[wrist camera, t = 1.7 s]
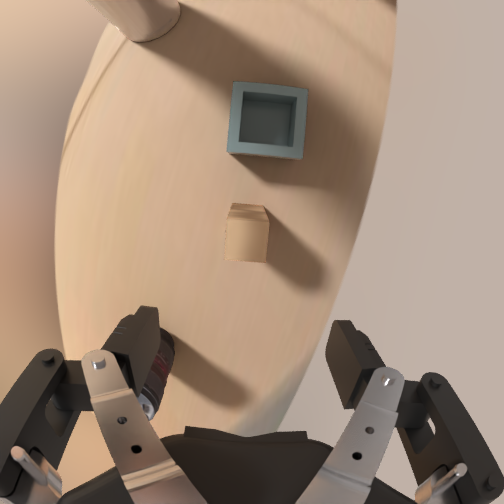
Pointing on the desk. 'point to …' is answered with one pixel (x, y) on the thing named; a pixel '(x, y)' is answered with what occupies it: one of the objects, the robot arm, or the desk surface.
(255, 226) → the tan wooden block
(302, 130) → the slate open square box
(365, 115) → the desk surface
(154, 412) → the camera lens
